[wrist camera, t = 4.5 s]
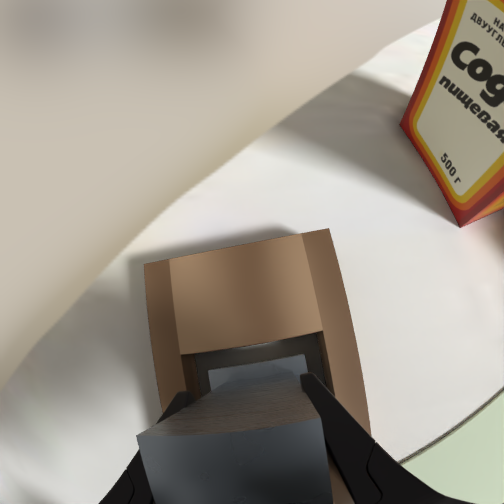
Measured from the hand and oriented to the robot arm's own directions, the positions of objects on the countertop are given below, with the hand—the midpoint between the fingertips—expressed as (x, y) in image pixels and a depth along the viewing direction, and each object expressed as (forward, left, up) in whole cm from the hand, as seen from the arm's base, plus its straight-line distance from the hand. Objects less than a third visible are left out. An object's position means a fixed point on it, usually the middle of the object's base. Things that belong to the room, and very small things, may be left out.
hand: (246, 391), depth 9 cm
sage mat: (+13, -15, -7) cm, 21 cm away
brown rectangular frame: (0, -1, -7) cm, 7 cm away
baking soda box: (+20, +8, -7) cm, 22 cm away
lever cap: (0, -1, -7) cm, 7 cm away
